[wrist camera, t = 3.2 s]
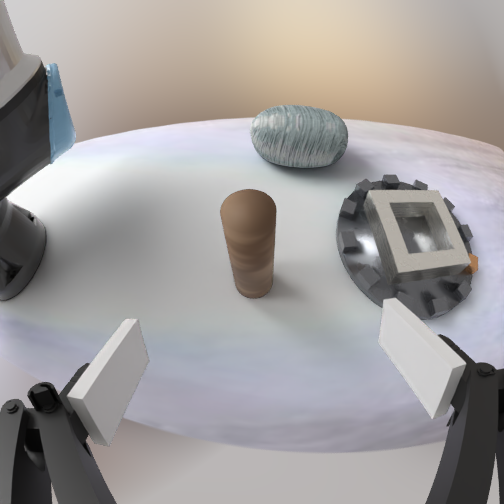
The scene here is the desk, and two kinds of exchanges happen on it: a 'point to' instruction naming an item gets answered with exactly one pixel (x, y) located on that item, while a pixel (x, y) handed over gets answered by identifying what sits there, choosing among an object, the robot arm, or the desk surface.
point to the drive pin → (250, 240)
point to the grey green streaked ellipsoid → (299, 136)
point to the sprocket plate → (415, 243)
